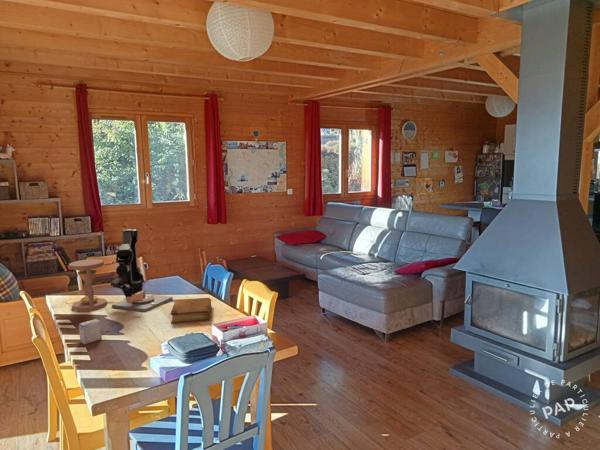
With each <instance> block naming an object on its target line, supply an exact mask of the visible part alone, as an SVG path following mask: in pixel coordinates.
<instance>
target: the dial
mask: <svg viewBox="0 0 600 450" xmlns="http://www.w3.org/2000/svg"><path fill="white" fill-rule="evenodd" d="M154 295H155V294H152V295H151V294H149V293H146V290H143V291H140V292H137V293H135V294H132V293H131V295H130V296H127V303H137V304H141V303H148V302H151V301H153V300H154Z"/></svg>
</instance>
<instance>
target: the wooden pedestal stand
mask: <svg viewBox="0 0 600 450" xmlns="http://www.w3.org/2000/svg"><path fill="white" fill-rule="evenodd" d="M104 263H105V261H104V260H103V259H98V258H97V259H96V258H94V259H93V258H91V259H82V260H76V261H71V262H69V263H68V269H69V270H71V271H72V270H74V271H79V272H77V275H78V276H79V278H80V279H82V280H83V282H84V284H83V290H84V295H85V296H84V297H81V298H80V300H78V301H75V302H74V303H72V305H71V310H73V309H74V310H73V311H75V310H77V311H76V312H89V311H90V310H91V311H96V310H99V308H100V309H102V308H104V306H105V307H106V306H107V304H108V302H107V301H108V300H107V299H106V298H101V297H99V296H98V295H95V294H94V289H93V287H92V286H93V282H94V281H93V279H94V277H95V276H96V274H97V270H96V269H97V268H98V269H99V268H101V267H103V266H105V264H104ZM91 311H90V312H91Z"/></svg>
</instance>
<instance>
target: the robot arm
mask: <svg viewBox="0 0 600 450" xmlns="http://www.w3.org/2000/svg"><path fill="white" fill-rule="evenodd" d="M139 237H140V233H139V230H137V229H123V231H122V242H121V245H120V246H119V247H118V249H117V251H116V254H115V256H116V258H115V264H118V266H117V267H116V269H115V271H116V274H117V276H118V277H116V278H114V279H112V280H111V282H110V286H111V287H113V288H115V289H120V290H121V291H122V293H123V294H124V296H125V299H127V296H130V295H132V294H135V293H137V292H140V291H144V290H143V287H144V283H145V278H144V274H143V273H142V271H141V270H142V269H140V267H139V264H138V253H137V242H138V240H139Z"/></svg>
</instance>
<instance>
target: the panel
mask: <svg viewBox="0 0 600 450" xmlns="http://www.w3.org/2000/svg"><path fill="white" fill-rule="evenodd" d="M151 295H154V300H153V301H151V302H148V303H141V304H137V303H127V299H126V298H125V299H123V300H121V301H117V302H114V303H113V304H111V307H112V308H113V309H120V310H121V309H122V310H129V311H135V312H142V313H143V312H144V313H147V312H149V311H151V310H152V309H154V308H157V307H159V306H161V305H163V304H166V303H168V302H170V301H172V300H173V299H174V298H173V296H167V295H159V294H151Z"/></svg>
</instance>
